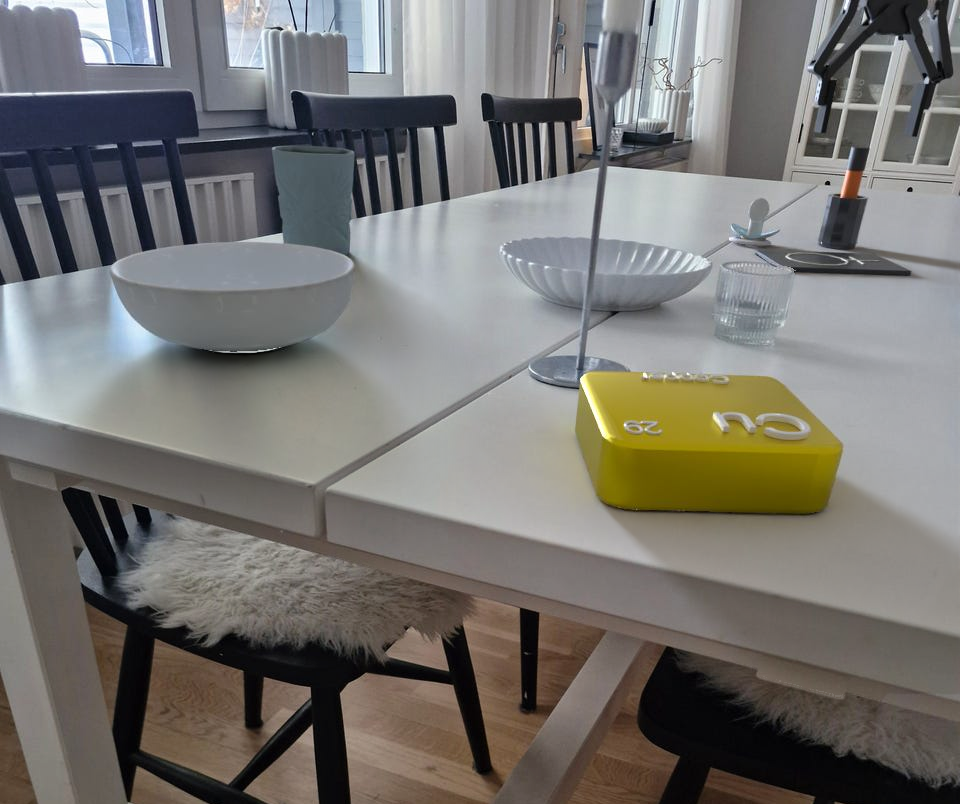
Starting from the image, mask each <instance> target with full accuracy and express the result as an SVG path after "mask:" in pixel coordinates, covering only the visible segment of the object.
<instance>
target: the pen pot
mask: <svg viewBox="0 0 960 804" xmlns="http://www.w3.org/2000/svg"><path fill="white" fill-rule="evenodd" d="M840 195H841V192H840V193H839V192H838V193H829V194H828V195H827V196H828V197H827V200H826V205H825V209H824V214H823V218H822V222H821V227H820V231H819V236H818V240H817V245H818V246H820V247H823V248H828V249H834V250H854V249H856V247H857V244H858V240H859V237H860V234H861V233H860V232H861V229H862V225H863V221H864V217H865V213H866V210H867V205H868V203H869V202H868V201H869V197H868V196H865V195H860V194H858V195H857V198H845V197H840Z"/></svg>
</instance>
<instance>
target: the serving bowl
mask: <svg viewBox="0 0 960 804" xmlns="http://www.w3.org/2000/svg"><path fill="white" fill-rule="evenodd" d="M355 268H356V266H355V263H354V261H353V260H352V259H351V258H349V256H347V255H342V254H340V253H337V252H334V251H331V250H326V249H322V248H317V247H311V246H304V245H294V244H284V242H283V243H282V242H281V243H280V242H262V241H257V242H256V241H227V242H226V241H225V242H203V243H194V244H193V243H192V244H191V243H190V244H182V245H173V246H167V247H159V248H155V249H150V250H145V251H140V252H138V253H133V254H131V255H128V256H125V257H123V258H120V259H118V260H116V261H115V262H114V263H113V264H111V266H110V267H109V274H110V275H109V276H110V279H111V281H112V284H113V287H114V289H115V291H116V294H117V297H118V298H119V301H120V303H121V304H122V305H123V307H124V309H125V311H126V312H127V313H128V314H129V315H130V317H131V318H132V319H133V320H134V321H135V322H136V323H137V324H138V325H139V326H141V327H142V328H143V329H144V330H145V331H148V332H149V333H150V334H152V335H153V336H155V337H156V338H158V339H159V338H160V339H161V340H164V341H166V342H168V343H172V344H174V345H179V346H181V347H182V346H183V347H186V348H191V349H198V350H202V349H204V350H203V351H205V350H212V351H230V352H237V351H258V350H267V349H273V348H279V347H284V346H286V347H288V346H292V345H295V344H298V343H301V342H305V341H307V340H310V339H312V338H314V337H316V336H318V335H320V334H322V333H323V332H325V331H327V330H328V329H329V328H330V327H332V326H333V325H334V324H335V323H336V322H337V321H338V319H339V318H340V317H341V316H342V314H343V313H344V311H345V310H346V308H347V306H348V305H349V301H350V298H351V295H352V293H353V292H352V291H353V286H354V280H355V279H354V278H355V271H356V269H355ZM284 348H285V347H284Z"/></svg>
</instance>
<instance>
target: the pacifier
mask: <svg viewBox="0 0 960 804" xmlns="http://www.w3.org/2000/svg"><path fill="white" fill-rule="evenodd" d="M769 213H770V204H769V202H768V200H766V198H763V197H758V198H756V199H754V200H753V201H752V202H751V203H750V204H749V207H748V218H749V222H748V228H747V229H746V228H744V227H742V226H740V225H738V224H736V223H731V225H730V228H731V230H732V231H733V232H734V233H735V234H736V235H735V236H730V237H729V238H728V240H729V241H730V242H731V241H732V242H731V243H734V242H735V243H734V244H738V243H739V245H744V244H745V246H752V245H754V247H768V246H770V245H772V241H770V240H768V239H767V238H770V237H773V236H775V235H776V234H778V233H779V232H780V231H781V229H780V228H779V229H777V230H773V231H769V232H765V233H762V232H763V229H764V223H765V219H766V218H767V217H768V215H769Z"/></svg>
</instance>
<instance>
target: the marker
mask: <svg viewBox="0 0 960 804" xmlns="http://www.w3.org/2000/svg"><path fill="white" fill-rule="evenodd" d="M870 148H871V147H869V146H868V147H867V146H855V145H852V146H851V147H850V151H849V155H848V159H847V163H846V168H845V170H846V171H845V175H844V179H843V183H842V187H841V191H840V194H841V195H840V197H845V198H857V195H859V191H860V187H861V184H862V183H861V182H862V180H863V179H862V178H863V175H864V172H865V170H866V166H867V161H868V158H869V154H870V150H871V149H870Z"/></svg>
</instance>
